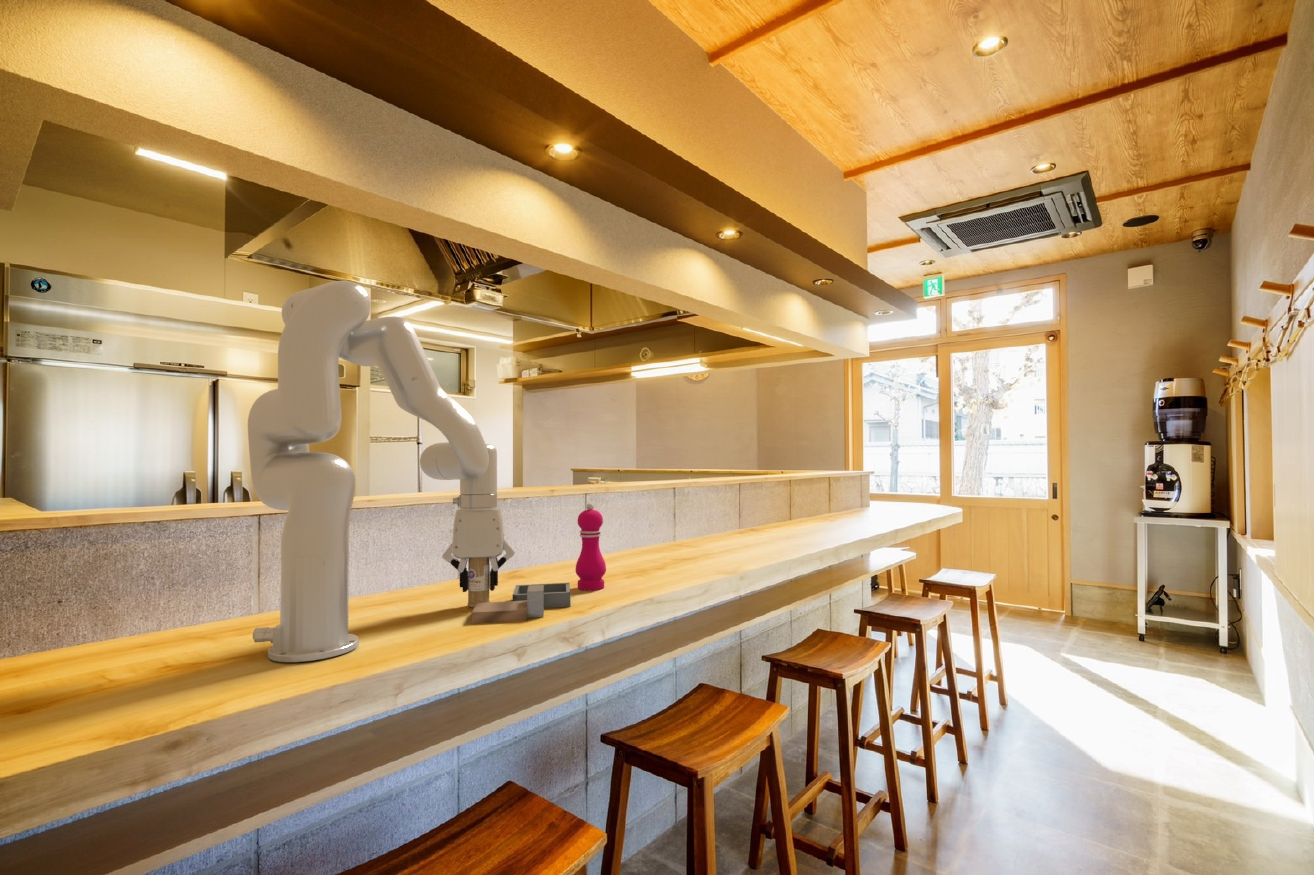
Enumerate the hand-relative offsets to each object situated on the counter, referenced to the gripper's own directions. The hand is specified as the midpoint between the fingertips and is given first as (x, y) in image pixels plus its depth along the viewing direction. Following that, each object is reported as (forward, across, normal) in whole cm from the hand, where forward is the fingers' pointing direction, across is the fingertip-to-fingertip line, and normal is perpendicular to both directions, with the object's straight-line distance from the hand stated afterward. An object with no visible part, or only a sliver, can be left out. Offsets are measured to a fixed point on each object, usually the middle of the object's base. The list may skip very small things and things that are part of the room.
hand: (479, 589), depth 127 cm
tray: (+3, +13, 0) cm, 13 cm away
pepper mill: (+4, +24, +13) cm, 28 cm away
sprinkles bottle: (+4, 0, 0) cm, 4 cm away
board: (+4, +6, -11) cm, 13 cm away
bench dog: (+3, +12, -10) cm, 16 cm away
